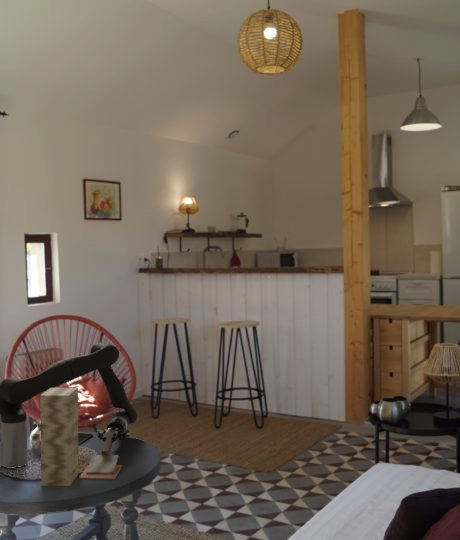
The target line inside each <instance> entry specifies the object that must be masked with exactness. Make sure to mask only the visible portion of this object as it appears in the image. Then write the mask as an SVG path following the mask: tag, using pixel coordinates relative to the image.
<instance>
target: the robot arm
mask: <svg viewBox="0 0 460 540" xmlns="http://www.w3.org/2000/svg"><path fill="white" fill-rule="evenodd" d="M119 357H120V351H119V349H118V348H117V347H116V346H115V345H114V344H110V343H107V342H106V343H105V342H96V343H94V344H93V345H92V347H91V348H90V354H85V355H77V356H72V357H66V358H64V359H61V360H58V361H56V362H53V363H51V364H49V365H47V367H45V368H44V369H43V370H42V371H41V372H40V373H38V374H36V375H33V376H31V377H27V378H24V379H19V378H15V377H6V378H4V379H3V380H2V381H1V382H0V421H1V422H0V426H1V428H0V430H1V435H0V436H1V437H0V438H1V441H0V468H4V467H18V466H23V465H25V464H26V463H27V464H28V435H27V434H28V428H27V427H28V426H27V424H28V423H27V422H28V421H27V420H28V419H27V418H28V417H27V415H28V414H27V412H26V410H25V409H24V407H23V404H24V403H26V402H27V401H29V400H31V399H32V398H35V397H36V396H38V395H41V393H42V394H43V393H44V392H46V391H47V390H48V389H50V388H58V387H60V386H62V385H64V384H67V383H69V382H71V381H73V380H76V379H77V378H80V377H83V376H85V375H87V374H89V373H92V372H95V371H98V373H99V375H100V378H101V379H102V382H103V384H104V386H105V388H106V392H107V394H108V397H109V400H110V403H111V405H112V407H113V408H115V409H117V410H114V411H113V413H112V419H111V420H110V422H109V423H108V424H107V426H106V428H105V429H103V430H102V429H97V430H96V431H97V433H96V435H97V438H98V439H99V440H101V441H102V442H103V443H104V442H105V439H106V436H107V433H108V431H114V432H115V433H114V435H113V436H112V443H113V444H114V443H115V442H116V441H118V440H120V441H122V440H124V439H127V438H129V437H130V429H128V427H129V425H130V424H131V425H132V424H134V423H135V422H137V420H138V414H137V411H136V409H135V408H134V407H133V405H132V404H131V402H130V401H129V399H128V397H127V393H126V391H125V388H124V386H123V383H122V382H121V380H120V379H119V378H118V375H116V372H115V371H114V370H113V368H112V366H113V365H115V364H116V362H117V361H118V359H119ZM27 464H26V465H27ZM26 465H25V466H26ZM1 466H3V467H1ZM23 467H24V466H23Z"/></svg>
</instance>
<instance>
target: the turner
mask: <svg viewBox="0 0 460 540" xmlns="http://www.w3.org/2000/svg"><path fill="white" fill-rule="evenodd" d="M114 433H115V432H114V431H108V433H107V436H106V439H105V442H104V441H103V446H102V447H101V454H91V456H90V459H89V463H88V464H89V465H88V464H87V466H88V468H87V471H86V474H114V471H115V467H116V465H118V464H117V463H118V460H119V455H118V454H110V453H111V451H112V450H111V449H112V447H113V444H114V443H112V436H113V435H114Z"/></svg>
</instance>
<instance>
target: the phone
mask: <svg viewBox="0 0 460 540" xmlns="http://www.w3.org/2000/svg"><path fill="white" fill-rule="evenodd" d="M93 437H94V434H93V433H85V432H84V433H82V432H78V447H79V446H81V445H82V444H83V443H85V442H86V441H88V440H90V439H91V438H93Z"/></svg>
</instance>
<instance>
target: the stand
mask: <svg viewBox="0 0 460 540" xmlns="http://www.w3.org/2000/svg"><path fill="white" fill-rule="evenodd" d="M39 395H40V396H39V397H40V403H39V404H40V421H41V440H40V466H41V467H40V471H41V473H40V475H41V477H40V481H41V482H40V483H41V484H40V485H41V487H70V486H71V485H72V484H73V482H74V481H75V480H76V478H77V477H78V475H79V474H80V473H79V446H78V433H79V389H78V387H54V388H50V389H48V390H47V391H44V392H42V394H39Z"/></svg>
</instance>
